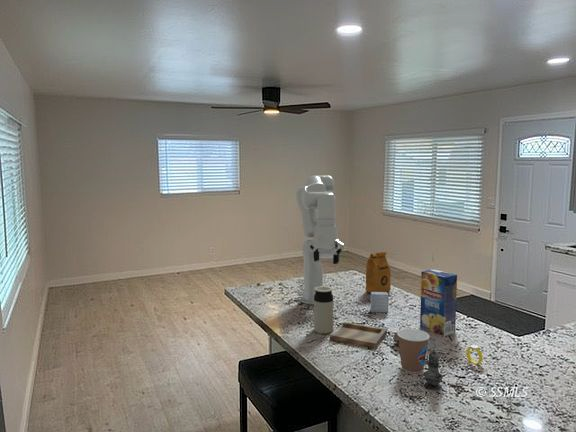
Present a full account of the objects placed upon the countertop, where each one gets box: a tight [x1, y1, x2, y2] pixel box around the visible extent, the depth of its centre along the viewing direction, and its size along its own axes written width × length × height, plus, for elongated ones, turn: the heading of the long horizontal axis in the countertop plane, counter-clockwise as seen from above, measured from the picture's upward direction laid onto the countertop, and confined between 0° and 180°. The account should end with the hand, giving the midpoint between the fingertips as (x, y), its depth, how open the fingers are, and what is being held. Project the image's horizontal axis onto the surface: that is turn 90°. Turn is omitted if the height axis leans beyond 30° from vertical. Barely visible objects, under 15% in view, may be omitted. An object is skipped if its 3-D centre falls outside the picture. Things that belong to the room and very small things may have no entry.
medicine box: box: [370, 292, 389, 313], centre depth 200 cm, size 8×4×9 cm, turn 84°
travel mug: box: [313, 285, 334, 335], centre depth 176 cm, size 8×8×18 cm
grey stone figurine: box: [422, 348, 444, 392], centre depth 131 cm, size 6×6×12 cm
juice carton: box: [419, 268, 458, 337], centre depth 176 cm, size 12×8×24 cm, turn 31°
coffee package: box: [365, 251, 392, 294], centre depth 230 cm, size 10×12×22 cm
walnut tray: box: [329, 321, 388, 350], centre depth 170 cm, size 18×16×2 cm
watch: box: [465, 344, 484, 366], centre depth 147 cm, size 6×3×6 cm, turn 23°
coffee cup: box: [397, 328, 430, 374], centre depth 142 cm, size 10×10×12 cm
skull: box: [393, 329, 401, 345], centre depth 162 cm, size 12×8×6 cm, turn 115°
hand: (326, 262), depth 181 cm, fingers open, 9 cm apart
